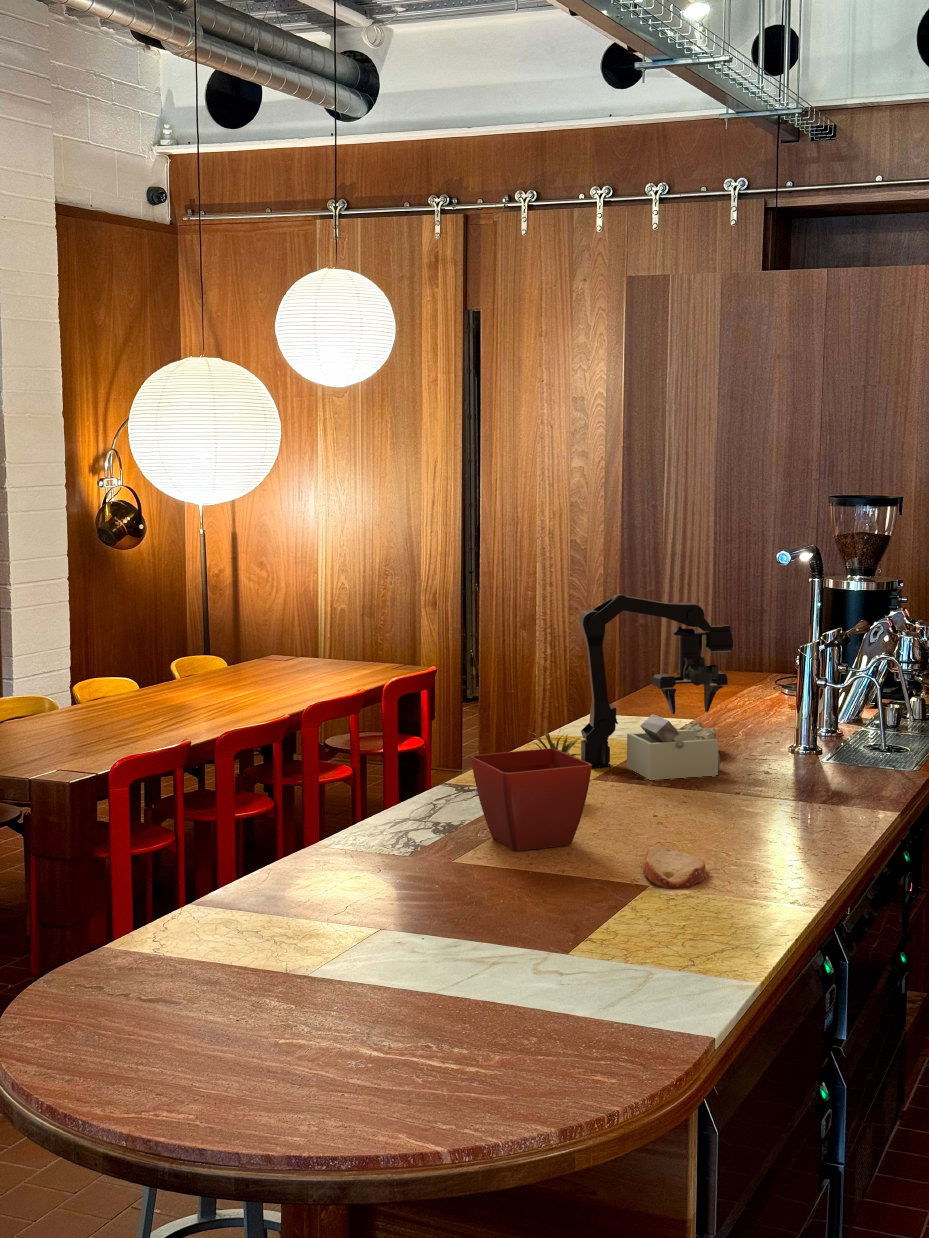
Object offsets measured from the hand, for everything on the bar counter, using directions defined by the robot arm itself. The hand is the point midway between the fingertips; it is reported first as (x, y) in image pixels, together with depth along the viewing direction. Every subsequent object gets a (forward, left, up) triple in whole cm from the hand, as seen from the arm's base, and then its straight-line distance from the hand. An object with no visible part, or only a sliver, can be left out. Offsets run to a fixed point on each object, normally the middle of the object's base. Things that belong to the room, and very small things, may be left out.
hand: (690, 713), depth 345 cm
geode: (+6, +11, -13) cm, 18 cm away
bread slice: (-44, -86, -14) cm, 98 cm away
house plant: (-46, -25, -13) cm, 54 cm away
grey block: (-3, -8, -11) cm, 14 cm away
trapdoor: (-10, -9, -8) cm, 15 cm away
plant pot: (-62, -59, -13) cm, 87 cm away
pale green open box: (-9, -9, -13) cm, 18 cm away
